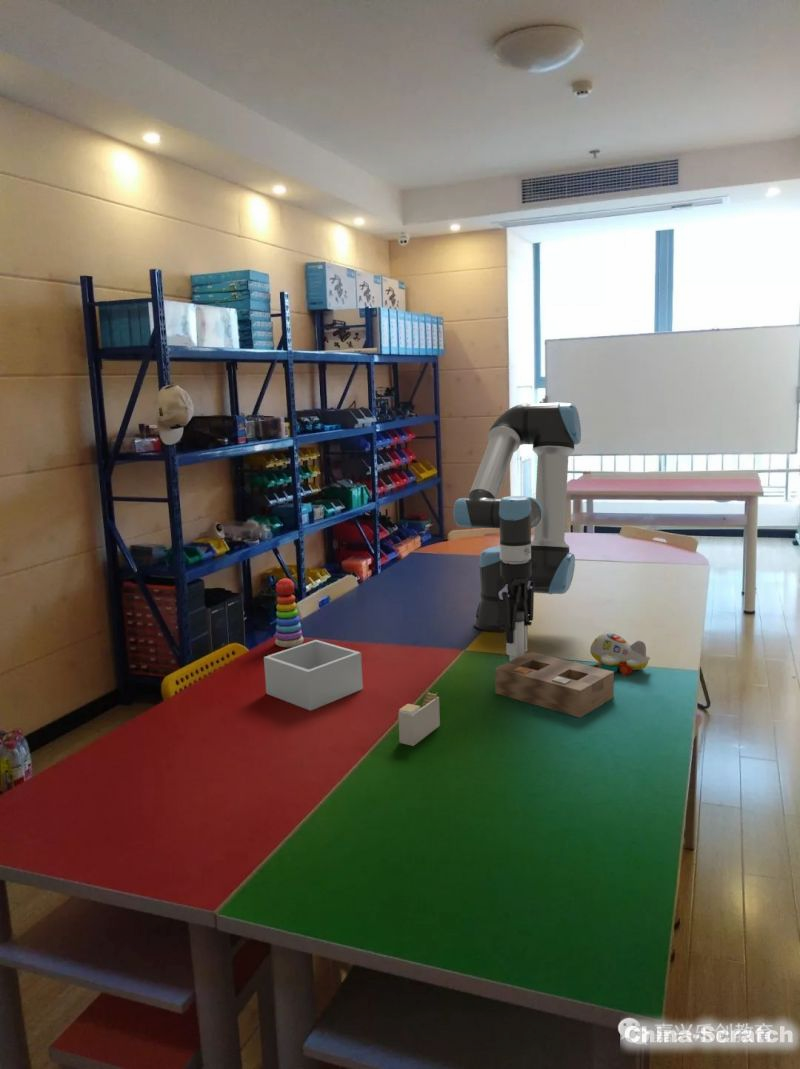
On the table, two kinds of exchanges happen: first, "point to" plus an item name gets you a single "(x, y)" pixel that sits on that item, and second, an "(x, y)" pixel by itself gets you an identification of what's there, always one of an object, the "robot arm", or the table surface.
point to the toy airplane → (619, 653)
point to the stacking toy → (287, 616)
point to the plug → (519, 634)
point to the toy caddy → (313, 674)
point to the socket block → (555, 683)
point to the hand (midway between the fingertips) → (517, 652)
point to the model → (419, 720)
